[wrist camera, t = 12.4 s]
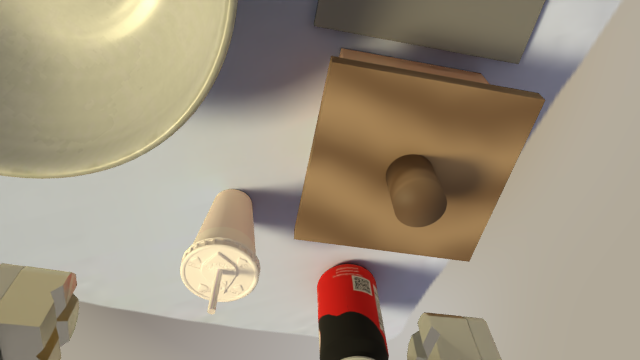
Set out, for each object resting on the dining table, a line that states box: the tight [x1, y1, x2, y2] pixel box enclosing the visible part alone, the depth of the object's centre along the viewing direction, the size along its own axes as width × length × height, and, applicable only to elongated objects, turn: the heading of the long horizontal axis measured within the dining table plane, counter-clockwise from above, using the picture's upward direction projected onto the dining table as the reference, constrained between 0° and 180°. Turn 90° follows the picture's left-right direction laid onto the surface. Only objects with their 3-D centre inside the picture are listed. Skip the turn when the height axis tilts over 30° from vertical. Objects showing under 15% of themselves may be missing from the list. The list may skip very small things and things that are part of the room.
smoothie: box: [180, 189, 260, 314], centre depth 42 cm, size 6×6×14 cm
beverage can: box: [317, 264, 389, 360], centre depth 49 cm, size 6×6×12 cm
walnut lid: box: [294, 56, 545, 261], centre depth 36 cm, size 15×15×5 cm
